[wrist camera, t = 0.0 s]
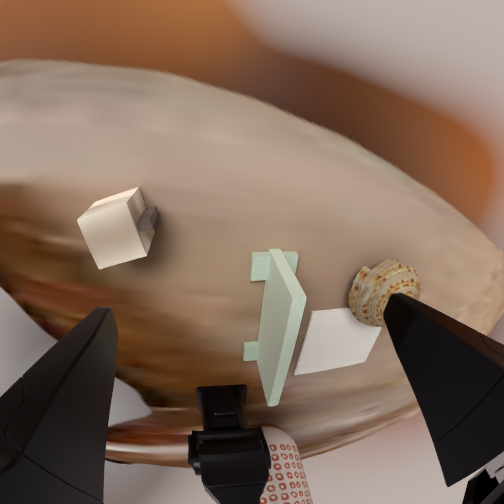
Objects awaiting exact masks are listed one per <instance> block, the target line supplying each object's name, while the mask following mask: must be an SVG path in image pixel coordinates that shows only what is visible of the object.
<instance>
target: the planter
mask: <svg viewBox="0 0 504 504" xmlns="http://www.w3.org/2000/svg"><path fill="white" fill-rule="evenodd" d="M257 426H261V427H262V430H263V433H264V436H265V439H266V442H267V445H268V448H269V451H270V456H271V469H268V470H269V479H268V481H267V483H266V486H265V488H264V490H263V493H262V495H261V497H260V504H313V503H312V499H311V495H310V491H309V487H308V483H307V480H306V476H305V472H304V469H303V465H302V462H301V458H300V454H299V451H298V448H297V446H296V443H295V442H294V440H293V439H292V438H291V437H290V436H289V435H288V434H287V433H285V432H284V431H282V430H280V429H278V428H277V427H275V426H271V425H257ZM257 426H251V427H248V428H252V427H257Z"/></svg>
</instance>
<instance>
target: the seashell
mask: <svg viewBox="0 0 504 504" xmlns="http://www.w3.org/2000/svg"><path fill="white" fill-rule="evenodd" d="M399 292H401V293H404V294H406V295H408V296H410V297H412V298H414V299H416V300H418V301H419V297H420V292H421V283H420V279H419V276H418V274H417V272H416V271H415V270H414V269H412V268H411V267H409V266H404V265H403V264H401V263H399V262H398V261H396V260H395V261H394V260H393V259H390V258H389V259H385V260H384V261H383V262H381V263H380V264H378V265H377V266H376V267H374V268H373V269H370V268H369V267H366V266H364V267H363V268H362V269H361V270H360V271H359V272H358V274H357V275H356V278H355V279H354V281H353V285H352V288H351V290H350V293H349V299H348V302H349V308H350V311H351V313H352V314H353V316H354V317H355V318H356V319H357V320H358V321H359V322H361V323H363V324H365V325H367V326H371V327H384V326H386V324H385V321H384V318H383V311H384V309H385V306H386V304H387V302H388V299H389V297H390V295H391V294H393V293H399Z"/></svg>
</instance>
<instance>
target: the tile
mask: <svg viewBox="0 0 504 504" xmlns="http://www.w3.org/2000/svg"><path fill="white" fill-rule="evenodd" d="M381 328H382V327H371V326H367V325H365V324H363V323H361V322H359V321H358V320H357V319H356V318H355V317H354V316H353V314H352V313H351V311H350V308H349V307H347V308H339V309H329V310H320V311H312V312H311V316H310V320H309V323H308V327H307V331H306V334H305V338H304V341H303V345H302V348H301V352H300V355H299V358H298V362H297V365H296V368H295V371H294V375H300V374H306V373H312V372H318V371H324V370H329V369H334V368H339V367H344V366H349V365H354V364H358V363H362V362H365V361H366V359H367V357H368V355H369V353H370V351H371V349H372V347H373V345H374V343H375V341H376V339H377V337H378V335H379V333H380V330H381Z"/></svg>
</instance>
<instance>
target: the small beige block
mask: <svg viewBox="0 0 504 504" xmlns="http://www.w3.org/2000/svg"><path fill="white" fill-rule="evenodd" d="M157 216H158V211H157V207H156V206H155V207H152V208H148V209H146V206H145V203H144V200H143V197H142V194H141V191H140V187H137V188H134V189H131V190H128V191H125V192H122V193H119V194H116V195H113V196H110V197H107V198H105V199H102V200H99V201H97V202H95V203H94V204H93V205H92V206H91V207H90V208H89V209H88V210H87V211H86V212H85V213H84V214H83V215H82V216H81V217H80V218H79V219H78V220H77V221H78V224H79V226H80V229H81V231H82V233H83V236H84V238H85V240H86V242H87V245H88V247H89V249H90V251H91V253H92V256H93V258H94V260H95V262H96V264H97V266H98V268H99V269H102V268H105V267H109V266H112V265H116V264H120V263H123V262H127V261H130V260H134V259H138V258H141V257H145V256H147V254H148V251H149V248H150V245H151V242H152V239H153V236H154V233H155V232H154V229H153V226H154V223H155V221H156V218H157Z"/></svg>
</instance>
